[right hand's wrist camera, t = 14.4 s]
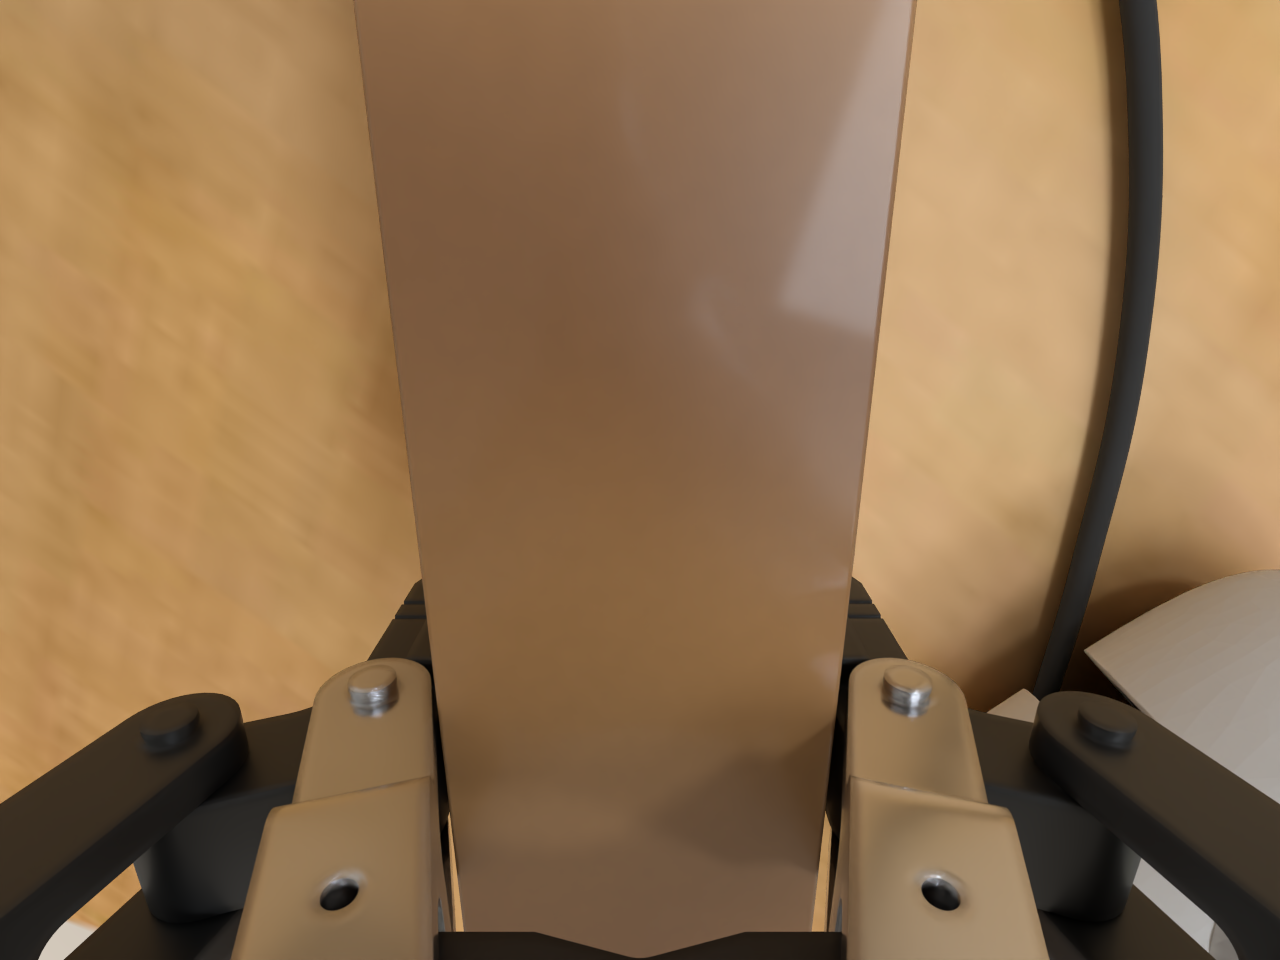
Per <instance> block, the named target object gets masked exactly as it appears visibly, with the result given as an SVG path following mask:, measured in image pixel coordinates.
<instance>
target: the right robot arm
mask: <svg viewBox="0 0 1280 960" xmlns="http://www.w3.org/2000/svg"><path fill="white" fill-rule="evenodd" d="M1119 6H1120V15H1121V23H1122V32H1123V43H1124V54H1125V69H1126V86H1127V108H1128V137H1129V219H1128V242H1127V258H1126V271H1125V283H1124V294H1123V304H1122V313H1121V322H1120V331H1119V339H1118V347H1117V355H1116V362H1115V370H1114V376H1113V383H1112V389H1111V395H1110V401H1109V407H1108V412H1107V418H1106V423H1105V428H1104V433H1103V437H1102V442H1101V447H1100V451H1099V455H1098V460H1097V464H1096V468H1095V472H1094V476H1093V480H1092V484H1091V488H1090V492H1089V496H1088V500H1087V504H1086V508H1085V511H1084V515H1083V519H1082V523H1081V527H1080V530H1079V534H1078V538H1077V542H1076V546H1075V550H1074V553H1073V557H1072V561H1071V565H1070V569H1069V573H1068V577H1067V581H1066V584H1065V588H1064V592H1063V595H1062V599H1061V603H1060V606H1059V609H1058V613H1057V616H1056V620H1055V623H1054V626H1053V630H1052V633H1051V636H1050V639H1049V642H1048V646H1047V649H1046V652H1045V655H1044V658H1043V662H1042V665H1041V668H1040V671H1039V674H1038V677H1037V681H1036V684H1035V687H1034V691H1033V694H1032V695H1033V696H1035V697H1036V698H1037V699H1038V700H1039V701H1040V702H1039V704H1038V707H1037V710H1036V714H1035V719H1034V723H1033V722H1028V721H1023V720H1018V719H1013V718H1008V717H1003V716H999V715H994V714H989V713H984V712H980V711H976V710H973V709H970V708H968V707H967V703H966V699H965V696H964V694H963V692H962V690H961V689H960V688H959V686H958V685H957V684H956V683H955V682H954V681H953V680H951V679H950V678H949V677H948V676H946V675H945V674H943V673H941V672H940V671H938V670H936V669H934V668H932V667H929V666H927V665H924V664H922V663H918V662H915V661H911V660H908V659H907V657H906V656H905V654H904V653H903V651H902V649H901V648H900V646H899V644H898V643H897V641H896V639H895V638H894V636H893V634H892V633H891V631H890V630H889V628H888V626H887V625H886V623H885V621H884V620H883V619H881V615H880V613H879V611H878V610H877V608H876V607H875V605H874V604H872V600H871V598H870V597H869V595H868V593H867V592H866V590H865V588H864V587H863V585H862V583H860V582H859V581H857V580H856V579H855V578H853V577H852V579H851V588H850V596H849V605H848V614H847V623H846V632H845V641H844V649H843V658H842V667H841V676H840V685H839V693H838V702H837V711H836V720H835V729H834V738H833V746H832V755H831V764H830V773H829V782H828V791H827V799H826V808H825V811H826V814H827V817H828V820H829V823H830V826H831V831H830V839H829V852H828V871H827V889H826V908H825V926H824V932H742V933H739V934H735V935H731V936H727V937H723V938H720V939H716V940H712V941H708V942H705V943H701V944H697V945H693V946H690V947H686V948H682V949H678V950H674V951H671V952H667V953H663V954H659V955H656V956H652V957H646V958H634V957H628V956H624V955H621V954H617V953H613V952H609V951H606V950H602V949H598V948H594V947H590V946H587V945H583V944H579V943H575V942H572V941H568V940H564V939H560V938H557V937H553V936H549V935H545V934H541V933H538V932H456V925H455V906H454V888H453V869H452V850H451V839H450V830H449V822H448V815H449V812H450V809H449V801H448V792H447V784H446V776H445V767H444V759H443V750H442V742H441V734H440V725H439V717H438V708H437V700H436V691H435V683H434V675H433V666H432V658H431V649H430V641H429V633H428V624H427V616H426V607H425V599H424V591H423V582H422V579H421V580H419V581H418V582H417V583H415V584H414V586H413V588H412V589H411V591H410V592H409V594H408V596H407V597H406V599H405V600H404V605H401V607H400V609H399V610H398V612H397V613H396V615H395V619H393V620H392V621H391V623H390V625H389V626H388V628H387V629H386V631H385V633H384V634H383V636H382V638H381V639H380V641H379V642H378V644H377V646H376V647H375V649H374V650H373V652H372V654H371V655H370V657H369V659H368V660H367V661H365V662H362V663H358V664H356V665H353V666H351V667H348V668H346V669H344V670H342V671H340V672H339V673H337V674H336V675H334V676H332V677H331V678H330V679H329V680H328V681H326V682H325V683H324V684H323V685H322V687H321V688H320V689H319V691H318V692H317V694H316V696H315V699H314V703H313V707H310V708H307V709H304V710H301V711H298V712H294V713H290V714H285V715H280V716H275V717H271V718H266V719H261V720H256V721H251V722H246V723H243V719H242V715H241V710H240V707H239V705H238V703H237V702H236V701H235V700H234V699H232V698H231V697H229V696H226V695H223V694H217V693H196V694H189V695H184V696H179V697H175V698H172V699H169V700H166V701H163V702H160V703H157V704H155V705H152V706H150V707H148V708H146V709H144V710H142V711H140V712H138V713H136V714H135V715H133V716H131V717H130V718H128V719H127V720H125V721H124V722H122V723H121V724H119V725H118V726H116V727H115V728H113V729H112V730H110V731H109V732H107V733H106V734H104V735H103V736H101V737H100V738H98V739H97V740H95V741H94V742H92V743H91V744H89V745H88V746H86V747H85V748H83V749H82V750H80V751H79V752H77V753H76V754H74V755H73V756H71V757H70V758H68V759H67V760H65V761H64V762H62V763H61V764H59V765H58V766H56V767H55V768H53V769H52V770H50V771H49V772H47V773H46V774H44V775H43V776H41V777H40V778H38V779H37V780H35V781H34V782H32V783H31V784H29V785H28V786H26V787H25V788H23V789H22V790H20V791H19V792H17V793H16V794H14V795H13V796H11V797H10V798H8V799H7V800H5V801H4V802H2V803H1V804H0V960H38V959H39V956H40V954H41V952H42V950H43V949H44V947H45V945H46V943H47V942H48V941H49V939H50V938H51V937H52V935H53V934H54V933H55V932H56V931H57V929H58V928H59V927H60V926H61V925H62V924H63V923H64V922H66V921H67V920H68V919H69V918H70V917H71V916H72V915H73V914H75V913H76V912H77V911H78V910H79V909H80V908H82V907H83V906H84V905H85V904H86V903H87V902H88V901H90V900H91V899H92V898H93V897H94V896H95V895H97V894H98V893H99V892H100V891H101V890H102V889H103V888H105V887H106V886H107V885H108V884H109V883H110V882H111V881H113V880H114V879H115V878H116V877H117V876H118V875H120V874H121V873H122V872H123V871H124V870H125V869H126V868H128V867H129V866H130V865H131V864H132V863H133V864H134V867H135V870H136V873H137V876H138V879H139V882H140V885H141V888H142V889H141V890H140V891H138V892H137V893H136V894H135V895H134V896H133V897H132V898H131V899H130V900H129V901H128V902H126V903H125V904H124V905H123V906H122V907H121V908H120V909H119V910H118V911H117V912H115V913H114V914H113V915H112V916H111V917H110V918H109V919H108V920H107V921H106V922H105V923H103V924H102V925H101V926H100V927H99V928H98V929H97V930H96V931H95V932H94V933H93V934H91V935H90V936H89V937H88V938H87V939H86V940H85V941H84V942H83V943H82V944H81V945H79V946H78V947H77V948H76V949H75V950H74V951H73V952H72V953H71V954H70V955H68V956H67V957H66V958H65V959H64V960H1216V959H1215V958H1214V957H1213V956H1212V955H1210V954H1209V953H1208V952H1207V951H1206V950H1205V949H1204V948H1203V947H1202V946H1201V945H1199V944H1198V943H1197V942H1196V941H1195V940H1194V939H1193V938H1192V937H1191V936H1190V935H1189V934H1187V933H1186V932H1185V931H1184V930H1183V929H1182V928H1181V927H1180V926H1179V925H1178V924H1177V923H1175V922H1174V921H1173V920H1172V919H1171V918H1170V917H1169V916H1168V915H1167V914H1166V913H1164V912H1163V911H1162V910H1161V909H1160V908H1159V907H1158V906H1157V905H1156V904H1155V903H1154V902H1152V901H1151V900H1150V899H1149V898H1148V897H1147V896H1146V895H1145V894H1144V893H1143V892H1142V891H1140V890H1139V889H1138V888H1137V887H1136V886H1135V885H1134V884H1133V882H1134V879H1135V876H1136V873H1137V870H1138V867H1139V864H1140V861H1141V858H1142V859H1143V860H1144V861H1145V862H1147V863H1148V864H1149V865H1150V866H1151V867H1152V868H1154V869H1155V870H1156V871H1157V872H1158V873H1159V874H1160V875H1162V876H1163V877H1164V878H1165V879H1166V880H1167V881H1168V882H1170V883H1171V884H1172V885H1173V886H1174V887H1175V888H1177V889H1178V890H1179V891H1180V892H1181V893H1182V894H1183V895H1185V896H1186V897H1187V898H1188V899H1189V900H1190V901H1192V902H1193V903H1194V904H1195V905H1196V906H1197V907H1198V908H1200V909H1201V910H1202V911H1203V912H1204V913H1205V914H1206V915H1208V916H1209V917H1210V918H1211V919H1212V920H1213V921H1214V922H1215V923H1216V924H1217V925H1218V926H1219V927H1220V928H1221V930H1222V931H1223V932H1224V933H1225V935H1226V936H1227V937H1228V939H1229V940H1230V942H1231V944H1232V946H1233V947H1234V949H1235V951H1236V954H1237V956H1238V959H1239V960H1280V804H1279V803H1278V802H1276V801H1275V800H1273V799H1272V798H1270V797H1269V796H1267V795H1266V794H1264V793H1263V792H1261V791H1260V790H1258V789H1257V788H1255V787H1254V786H1252V785H1251V784H1249V783H1248V782H1246V781H1245V780H1243V779H1242V778H1240V777H1239V776H1237V775H1236V774H1234V773H1233V772H1231V771H1230V770H1228V769H1227V768H1225V767H1224V766H1222V765H1221V764H1219V763H1218V762H1216V761H1215V760H1213V759H1212V758H1210V757H1209V756H1207V755H1206V754H1204V753H1203V752H1201V751H1200V750H1198V749H1197V748H1195V747H1194V746H1192V745H1191V744H1189V743H1188V742H1186V741H1185V740H1183V739H1182V738H1180V737H1179V736H1177V735H1176V734H1174V733H1173V732H1171V731H1170V730H1168V729H1167V728H1165V727H1164V726H1162V725H1161V724H1159V723H1158V722H1156V721H1155V720H1153V719H1152V718H1150V717H1149V716H1147V715H1146V714H1144V713H1142V712H1141V711H1139V710H1137V709H1135V708H1133V707H1131V706H1129V705H1127V704H1124V703H1122V702H1120V701H1117V700H1114V699H1111V698H1108V697H1105V696H1101V695H1097V694H1093V693H1087V692H1079V691H1062V692H1059V691H1060V688H1061V684H1062V681H1063V678H1064V675H1065V672H1066V669H1067V666H1068V663H1069V660H1070V657H1071V654H1072V651H1073V648H1074V645H1075V642H1076V639H1077V636H1078V633H1079V630H1080V626H1081V623H1082V620H1083V617H1084V613H1085V610H1086V607H1087V603H1088V600H1089V596H1090V593H1091V589H1092V586H1093V582H1094V579H1095V575H1096V571H1097V568H1098V564H1099V560H1100V556H1101V553H1102V549H1103V546H1104V542H1105V538H1106V535H1107V531H1108V528H1109V524H1110V520H1111V517H1112V513H1113V509H1114V506H1115V502H1116V498H1117V495H1118V491H1119V487H1120V484H1121V480H1122V476H1123V472H1124V468H1125V464H1126V460H1127V456H1128V452H1129V448H1130V443H1131V439H1132V435H1133V430H1134V425H1135V421H1136V416H1137V411H1138V406H1139V400H1140V395H1141V389H1142V383H1143V377H1144V371H1145V365H1146V358H1147V352H1148V344H1149V337H1150V330H1151V322H1152V314H1153V306H1154V298H1155V289H1156V280H1157V269H1158V259H1159V246H1160V232H1161V214H1162V186H1163V112H1162V74H1161V53H1160V36H1159V23H1158V11H1157V1H1156V0H1119Z"/></svg>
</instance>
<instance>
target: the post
mask: <svg viewBox="0 0 1280 960" xmlns="http://www.w3.org/2000/svg"><path fill="white" fill-rule="evenodd" d="M353 2H354V10H355V19H356V27H357V36H358V44H359V52H360V61H361V69H362V78H363V86H364V95H365V103H366V111H367V120H368V128H369V137H370V145H371V153H372V162H373V170H374V179H375V187H376V195H377V204H378V212H379V221H380V229H381V237H382V246H383V254H384V263H385V271H386V279H387V288H388V296H389V305H390V313H391V322H392V330H393V338H394V347H395V355H396V364H397V372H398V380H399V389H400V397H401V406H402V414H403V422H404V431H405V439H406V448H407V456H408V464H409V473H410V481H411V490H412V498H413V507H414V515H415V523H416V532H417V540H418V549H419V557H420V565H421V574H422V582H423V591H424V599H425V607H426V616H427V624H428V633H429V641H430V649H431V658H432V666H433V675H434V683H435V691H436V700H437V708H438V717H439V725H440V734H441V742H442V750H443V759H444V767H445V776H446V784H447V792H448V801H449V809H450V818H451V826H452V834H453V843H454V851H455V860H456V868H457V876H458V885H459V893H460V902H461V910H462V918H463V927H464V932H538V933H541V934H545V935H549V936H553V937H557V938H560V939H564V940H568V941H572V942H575V943H579V944H583V945H587V946H590V947H594V948H598V949H602V950H606V951H609V952H613V953H617V954H621V955H624V956H628V957H634V958H646V957H652V956H656V955H659V954H663V953H667V952H671V951H674V950H678V949H682V948H686V947H690V946H693V945H697V944H701V943H705V942H708V941H712V940H716V939H720V938H723V937H727V936H731V935H735V934H739V933H742V932H812V923H813V914H814V905H815V896H816V888H817V879H818V870H819V861H820V852H821V843H822V835H823V826H824V817H825V808H826V799H827V791H828V782H829V773H830V764H831V755H832V746H833V738H834V729H835V720H836V711H837V702H838V693H839V685H840V676H841V667H842V658H843V649H844V641H845V632H846V623H847V614H848V605H849V596H850V588H851V579H852V570H853V561H854V552H855V544H856V535H857V526H858V517H859V508H860V499H861V491H862V482H863V473H864V464H865V455H866V446H867V438H868V429H869V420H870V411H871V402H872V394H873V385H874V376H875V367H876V358H877V349H878V341H879V332H880V323H881V314H882V305H883V297H884V288H885V279H886V270H887V261H888V252H889V244H890V235H891V226H892V217H893V208H894V199H895V191H896V182H897V173H898V164H899V155H900V147H901V138H902V129H903V120H904V111H905V102H906V94H907V85H908V76H909V67H910V58H911V50H912V41H913V32H914V23H915V14H916V5H917V0H353Z"/></svg>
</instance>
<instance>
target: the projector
mask: <svg viewBox="0 0 1280 960" xmlns="http://www.w3.org/2000/svg"><path fill="white" fill-rule="evenodd" d="M1084 652H1085V653H1086V654H1087V656H1088V657H1089V658H1090V659H1091V660H1092V661H1093V663H1094V664H1095V665H1096V666H1097V667H1098V668H1099V669H1100V670H1101V672H1102V673H1103V674H1104V675H1105V676H1106V677H1107V678H1108V679H1109V681H1110V682H1111V683H1112V684H1113V685H1114V686H1115V687H1116V688H1117V690H1118V691H1119V692H1120V693H1121V694H1122V695H1123V696H1124V697H1125V698H1126V700H1127V701H1128V702H1129V703H1130V704H1131V705H1132V706H1133V707H1134V708H1135V709H1137V710H1139V711H1141V712H1142V713H1144V714H1146V715H1147V716H1149V717H1150V718H1152V719H1153V720H1155V721H1156V722H1158V723H1159V724H1161V725H1162V726H1164V727H1165V728H1167V729H1168V730H1170V731H1171V732H1173V733H1174V734H1176V735H1177V736H1179V737H1180V738H1182V739H1183V740H1185V741H1186V742H1188V743H1189V744H1191V745H1192V746H1194V747H1195V748H1197V749H1198V750H1200V751H1201V752H1203V753H1204V754H1206V755H1207V756H1209V757H1210V758H1212V759H1213V760H1215V761H1216V762H1218V763H1219V764H1221V765H1222V766H1224V767H1225V768H1227V769H1228V770H1230V771H1231V772H1233V773H1234V774H1236V775H1237V776H1239V777H1240V778H1242V779H1243V780H1245V781H1246V782H1248V783H1249V784H1251V785H1252V786H1254V787H1255V788H1257V789H1258V790H1260V791H1261V792H1263V793H1264V794H1266V795H1267V796H1269V797H1270V798H1272V799H1273V800H1275V801H1276V802H1278V803H1279V804H1280V570H1259V571H1251V572H1245V573H1240V574H1236V575H1232V576H1228V577H1224V578H1221V579H1218V580H1215V581H1212V582H1209V583H1207V584H1204V585H1202V586H1199V587H1197V588H1194V589H1192V590H1189V591H1187V592H1185V593H1183V594H1181V595H1179V596H1177V597H1175V598H1173V599H1171V600H1169V601H1167V602H1165V603H1163V604H1161V605H1159V606H1157V607H1155V608H1153V609H1152V610H1150V611H1148V612H1146V613H1145V614H1143V615H1141V616H1139V617H1138V618H1136V619H1134V620H1133V621H1131V622H1129V623H1127V624H1126V625H1124V626H1122V627H1120V628H1119V629H1117V630H1116V631H1114V632H1112V633H1111V634H1109V635H1107V636H1106V637H1104V638H1103V639H1101V640H1099V641H1098V642H1096V643H1095V644H1093V645H1091V646H1090V647H1088V648H1086V649H1085V650H1084ZM1039 702H1040V701H1039V700H1038V699H1037V698H1036V697H1035V696H1033V695H1032V694H1031V693H1030V692H1029V691H1028V690H1026V689H1022V690H1020V691H1019V692H1017V693H1016V694H1014V695H1013V696H1011V697H1010V698H1008V699H1007V700H1005V701H1003V702H1002V703H1000V704H999V705H997V706H996V707H994V708H993V709H991V710H990V711H988V712H987V713H989V714H994V715H999V716H1003V717H1008V718H1013V719H1018V720H1023V721H1028V722H1033V723H1034V719H1035V714H1036V710H1037V707H1038V704H1039ZM1133 884H1134V885H1135V886H1136V887H1137V888H1138V889H1139V890H1140V891H1142V892H1143V893H1144V894H1145V895H1146V896H1147V897H1148V898H1149V899H1150V900H1151V901H1152V902H1154V903H1155V904H1156V905H1157V906H1158V907H1159V908H1160V909H1161V910H1162V911H1163V912H1164V913H1166V914H1167V915H1168V916H1169V917H1170V918H1171V919H1172V920H1173V921H1174V922H1175V923H1177V924H1178V925H1179V926H1180V927H1181V928H1182V929H1183V930H1184V931H1185V932H1186V933H1187V934H1189V935H1190V936H1191V937H1192V938H1193V939H1194V940H1195V941H1196V942H1197V943H1198V944H1199V945H1201V946H1202V947H1203V948H1204V949H1205V950H1206V951H1207V952H1208V953H1209V954H1210V955H1212V956H1213V957H1214V958H1215V959H1216V960H1239V959H1238V956H1237V954H1236V951H1235V949H1234V947H1233V946H1232V944H1231V942H1230V940H1229V939H1228V937H1227V936H1226V935H1225V933H1224V932H1223V931H1222V930H1221V928H1220V927H1219V926H1218V925H1217V924H1216V923H1215V922H1214V921H1213V920H1212V919H1211V918H1210V917H1209V916H1208V915H1206V914H1205V913H1204V912H1203V911H1202V910H1201V909H1200V908H1198V907H1197V906H1196V905H1195V904H1194V903H1193V902H1192V901H1190V900H1189V899H1188V898H1187V897H1186V896H1185V895H1183V894H1182V893H1181V892H1180V891H1179V890H1178V889H1177V888H1175V887H1174V886H1173V885H1172V884H1171V883H1170V882H1168V881H1167V880H1166V879H1165V878H1164V877H1163V876H1162V875H1160V874H1159V873H1158V872H1157V871H1156V870H1155V869H1154V868H1152V867H1151V866H1150V865H1149V864H1148V863H1147V862H1145V861H1144V860H1143V859H1142V858H1141V861H1140V864H1139V867H1138V870H1137V873H1136V876H1135V879H1134V882H1133Z"/></svg>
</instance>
